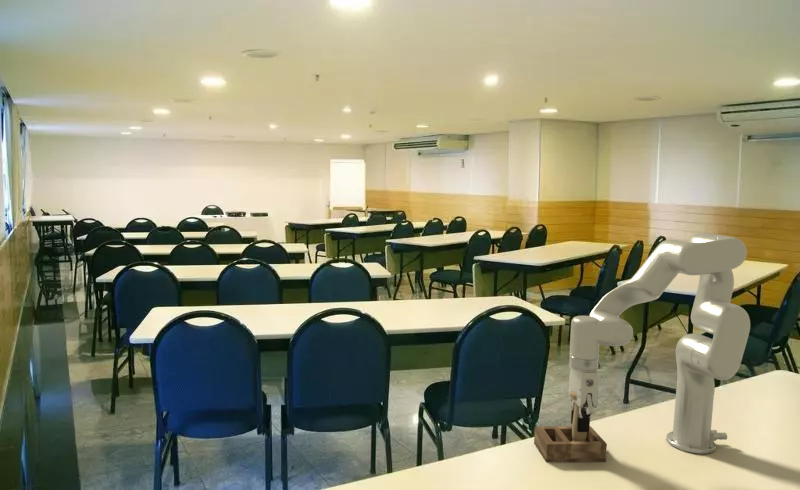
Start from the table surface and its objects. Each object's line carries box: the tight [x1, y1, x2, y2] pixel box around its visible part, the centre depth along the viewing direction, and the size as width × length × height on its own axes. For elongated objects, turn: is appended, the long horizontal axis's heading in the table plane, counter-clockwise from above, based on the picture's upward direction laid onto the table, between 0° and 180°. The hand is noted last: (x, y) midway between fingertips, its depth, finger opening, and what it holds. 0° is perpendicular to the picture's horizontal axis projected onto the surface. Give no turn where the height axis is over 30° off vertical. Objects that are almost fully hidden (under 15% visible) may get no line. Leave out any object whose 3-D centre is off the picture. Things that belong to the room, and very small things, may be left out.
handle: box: [569, 391, 587, 441], centre depth 160 cm, size 5×6×15 cm
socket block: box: [533, 425, 608, 463], centre depth 160 cm, size 16×11×5 cm
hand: (579, 427), depth 160 cm, fingers closed on handle, 3 cm apart
